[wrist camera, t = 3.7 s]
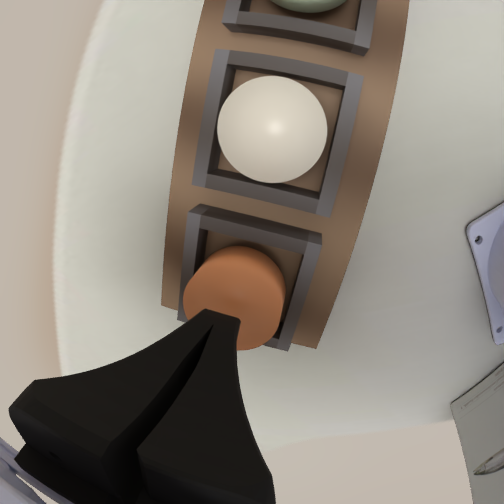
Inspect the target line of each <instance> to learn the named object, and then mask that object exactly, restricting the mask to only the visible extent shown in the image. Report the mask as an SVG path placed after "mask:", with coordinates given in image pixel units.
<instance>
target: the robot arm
mask: <svg viewBox="0 0 504 504" xmlns="http://www.w3.org/2000/svg"><path fill="white" fill-rule="evenodd" d="M466 232H467V236H468V239H469V242H470V246H471V249H472V252H473V255H474V259H475V262H476V265H477V269H478V272H479V276H480V280H481V284H482V288H483V292H484V296H485V300H486V304H487V309H488V314H489V319H490V324H491V329H492V334H493V340H494V342H495V344H496V345H500V344H502V343H504V203H502V204H500V205H499V206H497V207H496V208H494V209H493V210H491V211H489V212H488V213H486V214H484V215H483V216H481V217H480V218H478V219H476V220H475V221H473V222H471V223H470V224H469V225H468V227H467V231H466ZM477 236H480V238H479V240H478V241H477V242H475V239H476V237H477ZM240 324H241V321H240V319H239V318H237V317H233V316H230V315H226V314H223V313H219V312H216V311H213V310H209V309H206V308H205V309H203V310H201V311H200V312H199V313H198V314H196V315H195V316H194V317H192V318H191V319H190V320H188V321H187V322H186V323H184V324H183V325H182V326H180V327H179V328H177V329H176V330H174V331H173V332H171V333H170V334H168V335H167V336H165V337H164V338H162V339H160V340H159V341H157V342H155V343H154V344H152V345H150V346H148V347H147V348H145V349H143V350H141V351H139V352H137V353H135V354H133V355H131V356H129V357H126V358H124V359H122V360H119V361H117V362H114V363H111V364H108V365H106V366H103V367H100V368H97V369H93V370H90V371H86V372H82V373H78V374H73V375H68V376H63V377H55V378H48V379H39V380H34V381H33V382H32V383H31V384H30V385H29V386H28V387H27V388H26V389H25V390H24V391H23V392H22V393H21V394H20V396H19V397H18V398H17V399H16V400H15V401H14V402H13V404H12V405H11V406H10V407H9V415H10V418H11V420H12V422H13V423H14V425H15V427H16V428H17V430H18V432H19V433H20V435H21V436H22V438H23V439H24V441H25V442H26V444H25V445H24V446H23V448H22V449H21V450H20V452H18V451H17V450H15V449H14V448H13V447H12V446H10V445H9V444H8V443H6V442H5V441H4V440H3V439H1V438H0V504H46V503H45V502H44V501H43V500H42V499H41V498H40V497H39V496H38V495H37V494H36V493H35V492H34V490H33V489H32V488H30V487H29V486H28V485H27V484H25V483H24V482H23V481H22V480H21V479H19V478H18V477H17V476H16V474H17V475H19V476H20V477H21V478H22V479H24V480H25V481H26V482H28V483H29V484H31V485H32V486H33V487H35V488H36V489H38V490H39V491H40V492H42V493H43V494H45V495H47V496H48V497H50V498H51V499H53V500H54V501H56V502H57V503H59V504H276V501H275V492H274V485H273V479H272V474H271V472H270V471H269V469H268V467H267V465H266V463H265V461H264V459H263V457H262V455H261V452H260V450H259V448H258V445H257V443H256V441H255V438H254V435H253V432H252V430H251V427H250V424H249V421H248V418H247V415H246V411H245V407H244V403H243V399H242V394H241V389H240V384H239V376H238V368H237V338H238V333H239V329H240ZM498 327H499V328H498ZM497 328H498V329H497ZM15 473H16V474H15Z"/></svg>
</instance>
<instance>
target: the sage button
mask: <svg viewBox="0 0 504 504" xmlns="http://www.w3.org/2000/svg"><path fill="white" fill-rule="evenodd" d="M271 1H272V2H274V3H275V4H277V5H279V6H281V7H283V8H286V9H289V10H292V11H297V12H304V13H316V12H323V11H327V10H331V9H333V8H336V7H338V6H340V5H341V4H343V3H344V2H346V1H347V0H271Z"/></svg>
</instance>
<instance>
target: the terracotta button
mask: <svg viewBox="0 0 504 504" xmlns="http://www.w3.org/2000/svg"><path fill="white" fill-rule="evenodd" d="M285 294H286V286H285V281H284V277H283V275H282V273H281V271H280V269H279V268H278V266H277V265H276V264H275V263H274V262H273V261H272V260H271V259H270V258H269V257H268V256H267V255H265V254H263V253H262V252H260V251H258V250H255V249H252V248H249V247H244V246H230V247H225V248H222V249H220V250H218V251H216V252H214V253H213V254H211V255H210V256H209V257H208V258H207V259H206V261H205V262H204V263H203V264H202V266H201V267H200V268H199V269H198V271H197V272H196V273H195V274H194V276H193V277H192V278H191V280H190V281H189V282H188V284H187V286H186V288H185V291H184V295H183V307H184V311H185V315H186V317H187V319H188V320H190V319H191V318H192V317H194V316H195V315H196V314H198V313H199V312H200V311H201V310H203V309H205V308H206V309H209V310H213V311H216V312H219V313H223V314H226V315H230V316H233V317H237V318H239V319H240V321H241V324H240V329H239V333H238V338H237V350H249V349H253V348H256V347H259V346H261V345H263V344H264V343H266V342H267V341H268V340H270V339H271V338H272V336H273V335H274V334H275V332H276V330H277V328H278V326H279V322H280V317H281V313H282V308H283V304H284V299H285Z"/></svg>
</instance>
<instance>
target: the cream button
mask: <svg viewBox="0 0 504 504" xmlns="http://www.w3.org/2000/svg"><path fill="white" fill-rule="evenodd" d="M217 134H218V140H219V144H220V147H221V149H222V151H223V154H224V155H225V157H226V159H227V160H228V161H229V162H230V164H231V165H232V166H233V167H234V168H235V169H236V170H238V171H239V172H240V173H242V174H243V175H245V176H247V177H249V178H251V179H253V180H257V181H260V182H266V183H280V182H286V181H289V180H292V179H295V178H297V177H299V176H301V175H303V174H304V173H305V172H307V171H308V170H309V169H310V168H311V167H313V165H314V164H315V163H316V162H317V160H318V159H319V157H320V156H321V154H322V152H323V149H324V147H325V143H326V138H327V122H326V117H325V113H324V111H323V108H322V106H321V105H320V103H319V101H318V100H317V98H316V97H315V96H314V95H313V94H312V93H311V92H310V91H309V90H308V89H307V88H306V87H304V86H303V85H301V84H300V83H298V82H296V81H294V80H291V79H288V78H285V77H279V76H264V77H258V78H255V79H252V80H250V81H247V82H245V83H244V84H242V85H240V86H239V87H238V88H236V89H235V90H234V91H233V92H232V93H231V94H230V95H229V97H228V98H227V99H226V101H225V102H224V104H223V106H222V108H221V111H220V114H219V118H218V124H217Z"/></svg>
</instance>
